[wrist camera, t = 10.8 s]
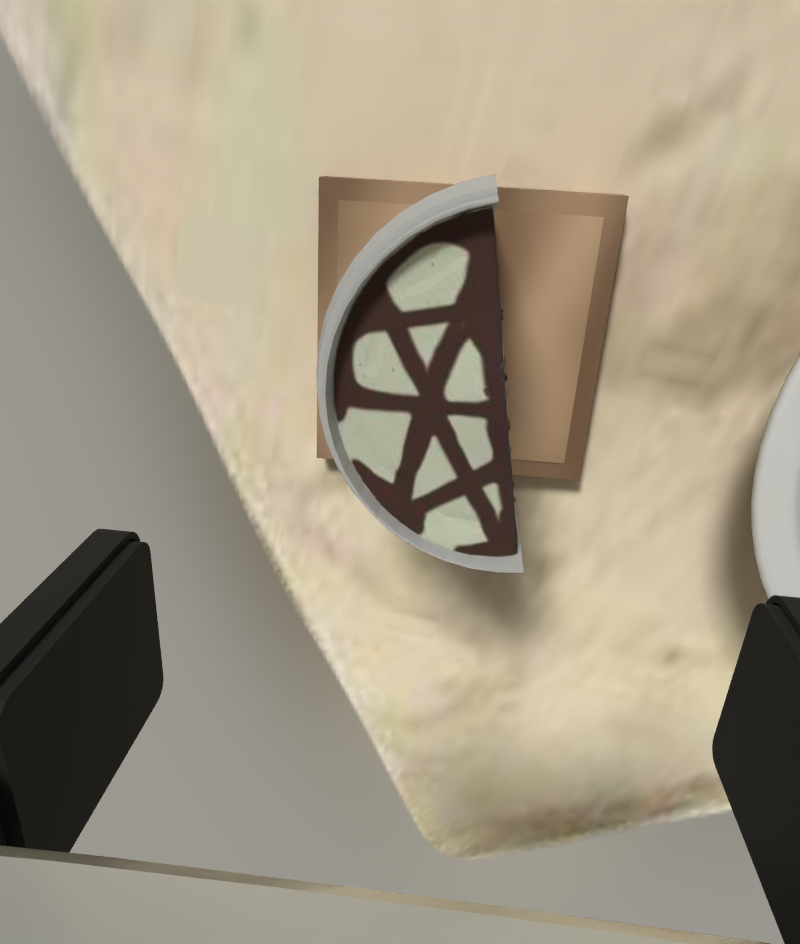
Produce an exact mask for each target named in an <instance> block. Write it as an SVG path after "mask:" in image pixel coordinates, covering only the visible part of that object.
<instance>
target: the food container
mask: <svg viewBox="0 0 800 944" xmlns="http://www.w3.org/2000/svg"><path fill="white" fill-rule="evenodd" d="M498 202H499V198H498V191H497V183H496V177H495V174H493V175H489V176H485V177H480V178H476V179H472V180H467V181H463V182H460V183H458V184H455V185H453V186H450V187H448V188H445V189H443V190H440V191H438V192H435V193H433V194H430V195H429V196H427V197H425V198H424V199H422V200H420V201H419V202H417V203H415V204H414V205H412V206H410V207H409V208H407V209H405V210H404V211H402V212H400V213H399V214H398V215H397V216H396V217H395V218H393V219H392V220H391V221H390V222H389V223H387V224H386V225H385V226H384V227H383V228H382V229H380V230H379V231H378V232H377V233H376V234H375V235H374V236H373V237H372V238H371V239H370V240H369V242H368V243H367V244H366V245H365V246H364V247H363V249H362V250H361V251H360V252H359V253H358V255H357V256H356V257H355V258H354V259H353V261H352V262H351V264H350V266H349V267H348V269H347V271H346V272H345V274H344V276H343V277H342V279H341V281H340V282H339V284H338V285H337V287H336V290H335V292H334V295H333V297H332V300H331V302H330V305H329V307H328V310H327V312H326V315H325V318H324V323H323V327H322V331H321V336H320V340H319V345H318V359H317V392H318V403H319V413H320V419H321V422H322V426H323V430H324V434H325V438H326V442H327V445H328V447H329V449H330V451H331V454H332V456H333V458H334V461H335V463H336V465H337V467H338V469H339V471H340V473H341V474H342V476H343V477H344V479H345V480H346V482H347V484H348V485H349V487H350V488H351V490H352V491H353V493H354V494H355V495H356V496H357V497H358V499H359V500H360V501H361V502H362V503H363V504H364V505H365V507H366V508H367V509H368V510H369V511H370V512H371V513H372V514H373V516H374V517H375V518H376V519H377V520H379V521H380V522H381V523H382V524H383V525H385V526H386V527H387V528H388V529H389V530H390V531H392V532H393V533H394V534H395V535H396V536H398V537H400V538H401V539H403V540H404V541H406V542H408V543H409V544H411V545H412V546H414V547H416V548H417V549H419V550H421V551H423V552H425V553H428V554H430V555H432V556H434V557H437V558H439V559H441V560H443V561H446V562H450V563H453V564H457V565H460V566H464V567H467V568H471V569H478V570H485V571H492V572H502V573H524V570H523V561H522V552H521V543H520V534H519V526H518V517H517V508H516V499H515V490H514V481H513V473H512V460H511V447H510V440H509V431H510V422H509V420H508V419H509V417H508V410H507V392H506V383H505V381H507V380H508V379H507V375H506V371H505V362H506V361H505V357H504V351H503V338H502V320H503V315H502V312H503V309H501V300H500V288H499V273H498V268H499V263H498V260H497V245H496V243H497V238H496V233H495V223H494V213H495V210H496V208H497V205H498Z"/></svg>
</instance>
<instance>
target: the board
mask: <svg viewBox="0 0 800 944" xmlns="http://www.w3.org/2000/svg"><path fill="white" fill-rule="evenodd" d="M453 185H455V184H440V183H424V182H408V181H392V180H376V179H360V178H344V177H328V176H323V177H319V238H318V345H319V340H320V336H321V331H322V327H323V323H324V318H325V315H326V312H327V310H328V307H329V305H330V302H331V300H332V297H333V295H334V292H335V290H336V287H337V285H338V284H339V282H340V281H341V279H342V277H343V276H344V274H345V272H346V271H347V269H348V267H349V266H350V264H351V262H352V261H353V259H354V258H355V257H356V256H357V255H358V253H359V252H360V251H361V250H362V249H363V247H364V246H365V245H366V244H367V243H368V242H369V240H370V239H371V238H372V237H373V236H374V235H375V234H376V233H377V232H378V231H379V230H380V229H382V228H383V227H384V226H385V225H386V224H387V223H389V222H390V221H391V220H392V219H393V218H395V217H396V216H397V215H398V214H399V213H400V212H402V211H404V210H405V209H407V208H409V207H410V206H412V205H414V204H415V203H417V202H419V201H420V200H422V199H424V198H425V197H427V196H429V195H430V194H433V193H435V192H438V191H440V190H443V189H445V188H448V187H450V186H453ZM497 191H498V198H499V202H498V205H497V208H496V210H495V213H494V223H495V233H496V238H497V243H496V245H497V260H498V263H499V268H498V273H499V288H500V300H501V309H503V312H502V315H503V320H502V338H503V351H504V357H505V361H506V362H505V371H506V375H507V379H508V380H507V381H505V383H506V392H507V410H508V417H509V419H508V420H509V422H510V431H509V440H510V447H511V460H512V473H513V475H519V476H530V477H541V478H553V479H564V480H575V481H579V479H580V473H581V468H582V462H583V456H584V450H585V444H586V439H587V433H588V427H589V421H590V416H591V410H592V404H593V398H594V393H595V387H596V381H597V375H598V370H599V364H600V358H601V352H602V346H603V341H604V335H605V329H606V323H607V318H608V312H609V306H610V300H611V295H612V289H613V283H614V277H615V272H616V266H617V260H618V254H619V248H620V243H621V237H622V231H623V225H624V220H625V214H626V208H627V202H628V197H629V196H625V195H616V194H600V193H584V192H568V191H552V190H536V189H520V188H504V187H497ZM317 458H326V459H334V458H333V456H332V454H331V451H330V449H329V447H328V445H327V442H326V438H325V434H324V430H323V426H322V422H321V419H320V413H319V403H318V392H317Z"/></svg>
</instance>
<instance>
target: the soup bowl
mask: <svg viewBox="0 0 800 944" xmlns="http://www.w3.org/2000/svg"><path fill="white" fill-rule="evenodd" d="M751 528H752V536H753V544H754V552H755V558H756V562H757V566H758V570H759V574H760V578H761V582H762V584H763V587H764V589H765V592H766V594H767V597H768V599H769V598H770V597H771V596H774V595H778V596H789V597H799V598H800V355H799V356H798V358H797V360H796V362H795V363H794V365H793V367H792V369H791V371H790V372H789V374H788V376H787V378H786V379H785V382H784V384H783V386H782V388H781V391H780V393H779V395H778V397H777V400H776V402H775V404H774V406H773V409H772V411H771V414H770V417H769V420H768V423H767V426H766V429H765V432H764V435H763V438H762V441H761V445H760V449H759V454H758V458H757V463H756V467H755V472H754V481H753V490H752V499H751Z"/></svg>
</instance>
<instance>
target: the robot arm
mask: <svg viewBox="0 0 800 944" xmlns="http://www.w3.org/2000/svg"><path fill="white" fill-rule="evenodd" d="M152 573H153V572H152V563H151V553H150V548H149V546H148V544H147V543H145V542H140V539H139V537H138V535H137V534H136V533H135V532H128V531H118V530H108V529H97V530H96V531H94V532H93V533H92V534H91V535H90V536H89V537H88V538H87V539H86V540H85V541H84V542H83V543H82V544H81V545H80V546H79V547H78V548H77V549H76V550H75V551H74V552H73V553H72V554H71V555H70V556H69V557H68V558H67V559H66V560H65V561H64V562H63V563H62V564H61V565H59V566H58V568H56V570H54V572H52V573H51V574H50V575H49V576H48V577H47V578H46V579H45V580H44V581H43V582H42V583H41V584H40V585H39V586H38V587H37V588H36V589H35V590H34V591H33V592H32V593H31V594H30V595H29V596H28V597H27V598H26V599H25V600H24V601H23V602H22V603H21V604H20V605H19V606H18V607H17V608H16V609H15V610H14V611H13V612H12V613H11V614H10V615H9V616H8V617H7V618H6V619H5V620H4V621H3V622H2V623H1V624H0V944H769V943H763V942H756V941H750V940H743V939H735V938H728V937H721V936H713V935H706V934H698V933H691V932H684V931H676V930H669V929H662V928H654V927H647V926H640V925H633V924H625V923H618V922H610V921H603V920H596V919H588V918H581V917H573V916H566V915H558V914H552V913H544V912H536V911H529V910H522V909H513V908H506V907H499V906H491V905H484V904H476V903H468V902H460V901H453V900H445V899H437V898H430V897H423V896H415V895H407V894H399V893H391V892H384V891H376V890H368V889H361V888H352V887H345V886H337V885H329V884H322V883H314V882H307V881H299V880H291V879H283V878H274V877H266V876H258V875H250V874H242V873H234V872H225V871H218V870H210V869H201V868H194V867H186V866H178V865H170V864H162V863H153V862H146V861H137V860H129V859H121V858H113V857H104V856H94V855H85V854H76V853H69V852H70V850H71V848H72V847H73V845H74V844H75V842H76V840H77V838H78V837H79V835H80V833H81V832H82V830H83V828H84V826H85V825H86V823H87V821H88V820H89V818H90V816H91V814H92V813H93V811H94V809H95V808H96V806H97V804H98V803H99V801H100V799H101V797H102V796H103V794H104V792H105V790H106V789H107V787H108V785H109V784H110V782H111V780H112V778H113V777H114V775H115V773H116V772H117V770H118V768H119V767H120V765H121V763H122V761H123V760H124V758H125V756H126V755H127V753H128V751H129V749H130V748H131V746H132V744H133V743H134V741H135V739H136V737H137V735H138V734H139V732H140V731H141V729H142V727H143V726H144V724H145V722H146V720H147V719H148V717H149V715H150V714H151V712H152V710H153V708H154V707H155V705H156V703H157V701H158V699H159V697H160V694H161V691H162V687H163V669H162V659H161V649H160V640H159V630H158V621H157V611H156V602H155V592H154V583H153V574H152ZM712 751H713V760H714V763H715V767H716V769H717V772H718V774H719V777H720V779H721V782H722V784H723V787H724V790H725V792H726V795H727V797H728V800H729V802H730V805H731V808H732V810H733V813H734V815H735V818H736V820H737V823H738V825H739V828H740V831H741V833H742V836H743V838H744V840H745V843H746V846H747V848H748V851H749V853H750V856H751V859H752V861H753V864H754V866H755V869H756V871H757V874H758V877H759V879H760V882H761V884H762V886H763V889H764V892H765V894H766V897H767V900H768V902H769V905H770V907H771V910H772V912H773V915H774V917H775V920H776V922H777V925H778V928H779V930H780V933H781V935H782V938H783V941H784V943H785V944H800V598H799V597H789V596H778V595H774V596H771V597H770V598H769V599H768V600H767V602H766V604H762V603H760V604H757V605H756V607H755V608H754V610H753V613H752V616H751V619H750V622H749V626H748V629H747V632H746V635H745V638H744V642H743V645H742V648H741V651H740V654H739V658H738V661H737V664H736V667H735V671H734V674H733V677H732V680H731V683H730V687H729V690H728V693H727V696H726V699H725V703H724V706H723V709H722V712H721V716H720V719H719V722H718V725H717V728H716V732H715V735H714V739H713V746H712Z"/></svg>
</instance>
